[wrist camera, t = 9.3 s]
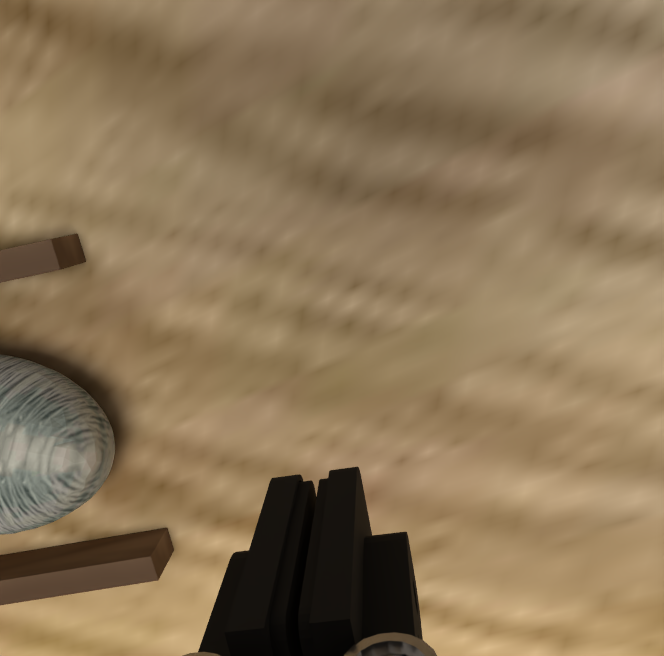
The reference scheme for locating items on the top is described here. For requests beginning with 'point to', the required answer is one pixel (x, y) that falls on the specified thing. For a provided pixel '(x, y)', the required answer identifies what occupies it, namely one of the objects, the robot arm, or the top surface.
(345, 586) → the robot arm
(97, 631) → the top surface
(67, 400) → the grey rounded piece
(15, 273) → the guide channel
